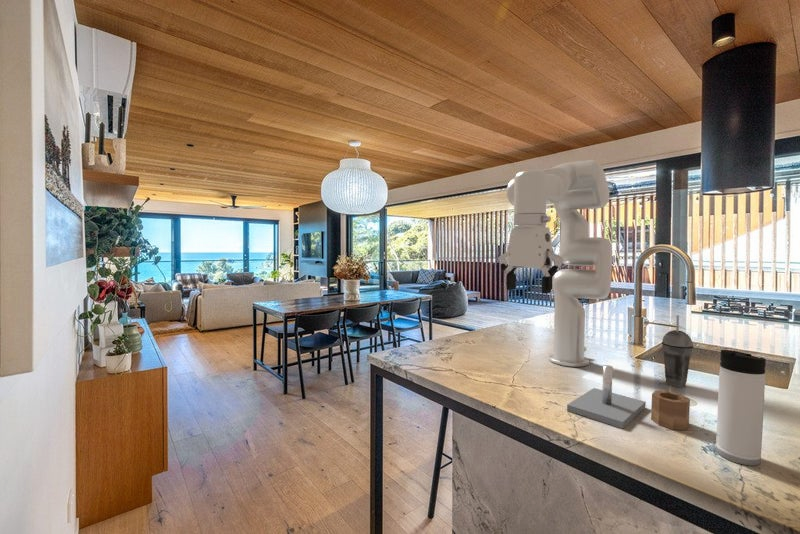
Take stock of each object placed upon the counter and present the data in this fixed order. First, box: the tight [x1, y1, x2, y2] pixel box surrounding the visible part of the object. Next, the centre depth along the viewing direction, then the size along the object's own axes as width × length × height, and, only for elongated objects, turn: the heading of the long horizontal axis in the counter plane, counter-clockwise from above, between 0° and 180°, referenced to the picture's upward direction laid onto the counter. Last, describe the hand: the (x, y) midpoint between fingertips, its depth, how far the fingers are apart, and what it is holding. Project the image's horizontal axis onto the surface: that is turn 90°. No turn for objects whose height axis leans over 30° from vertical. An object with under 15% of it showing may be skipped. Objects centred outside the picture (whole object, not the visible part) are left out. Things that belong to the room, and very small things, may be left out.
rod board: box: [566, 387, 647, 430], centre depth 91 cm, size 16×12×2 cm
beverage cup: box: [661, 315, 694, 389], centre depth 106 cm, size 7×7×20 cm
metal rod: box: [601, 364, 614, 405], centre depth 90 cm, size 2×2×9 cm
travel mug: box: [715, 349, 767, 467], centre depth 70 cm, size 6×7×20 cm
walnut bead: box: [650, 390, 691, 431], centre depth 84 cm, size 6×6×6 cm
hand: (528, 291), depth 94 cm, fingers open, 9 cm apart
